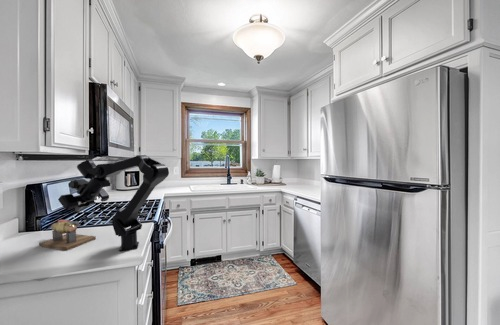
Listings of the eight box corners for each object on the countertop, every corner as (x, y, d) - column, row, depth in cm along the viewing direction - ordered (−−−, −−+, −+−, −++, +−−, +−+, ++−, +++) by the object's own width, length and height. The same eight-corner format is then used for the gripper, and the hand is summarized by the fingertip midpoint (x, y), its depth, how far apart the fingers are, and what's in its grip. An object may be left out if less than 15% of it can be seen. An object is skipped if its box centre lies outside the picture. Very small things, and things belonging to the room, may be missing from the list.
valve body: (83, 238, 99) (82, 220, 98) (67, 244, 93) (66, 224, 92) (65, 236, 102) (64, 218, 101) (48, 242, 96) (47, 222, 95)
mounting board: (95, 239, 101) (95, 236, 101) (67, 250, 90) (67, 247, 90) (69, 235, 106) (69, 233, 106) (39, 246, 95) (39, 243, 94)
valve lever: (79, 221, 101) (61, 219, 105) (75, 222, 100) (57, 220, 103) (79, 225, 101) (61, 224, 105) (76, 227, 100) (58, 225, 103)
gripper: (103, 171, 107) (86, 193, 111) (60, 175, 89) (42, 201, 93) (117, 188, 105) (100, 210, 109) (76, 196, 87) (57, 222, 91)
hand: (76, 210), depth 100 cm, fingers closed
